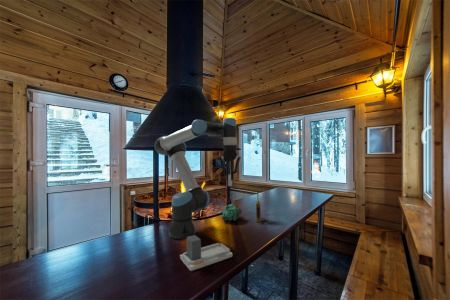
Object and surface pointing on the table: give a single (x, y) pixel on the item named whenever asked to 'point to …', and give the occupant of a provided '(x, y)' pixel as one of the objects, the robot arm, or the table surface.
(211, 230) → the table surface
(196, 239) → the switch tab
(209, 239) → the table surface
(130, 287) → the table surface
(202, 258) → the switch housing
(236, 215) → the mineral
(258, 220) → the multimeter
